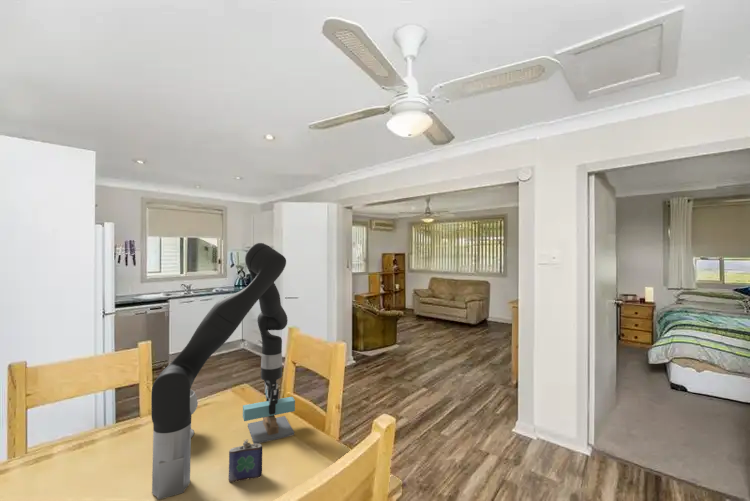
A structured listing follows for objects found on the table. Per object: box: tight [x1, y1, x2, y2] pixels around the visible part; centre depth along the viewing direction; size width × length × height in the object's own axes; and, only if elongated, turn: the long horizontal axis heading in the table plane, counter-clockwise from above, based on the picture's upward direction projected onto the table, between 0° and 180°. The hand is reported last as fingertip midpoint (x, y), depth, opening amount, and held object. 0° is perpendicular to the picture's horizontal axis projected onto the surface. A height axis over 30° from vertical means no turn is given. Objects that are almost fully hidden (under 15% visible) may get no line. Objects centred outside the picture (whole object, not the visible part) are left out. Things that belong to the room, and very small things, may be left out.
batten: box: [242, 396, 296, 422], centre depth 129 cm, size 4×18×4 cm, turn 118°
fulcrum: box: [247, 415, 295, 444], centre depth 129 cm, size 14×14×6 cm
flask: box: [228, 439, 263, 483], centre depth 103 cm, size 9×3×11 cm, turn 109°
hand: (270, 410), depth 129 cm, fingers open, 4 cm apart
